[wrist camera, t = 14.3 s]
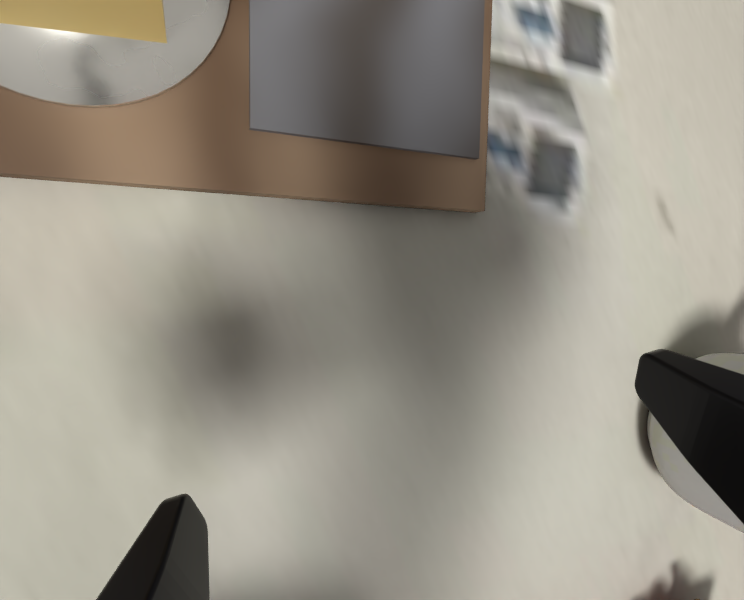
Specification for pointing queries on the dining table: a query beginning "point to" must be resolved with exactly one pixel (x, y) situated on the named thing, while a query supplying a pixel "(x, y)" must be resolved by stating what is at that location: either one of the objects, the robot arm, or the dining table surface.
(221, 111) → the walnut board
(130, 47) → the silver metal disc
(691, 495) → the teacup
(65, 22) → the tan wooden brick
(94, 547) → the dining table surface
